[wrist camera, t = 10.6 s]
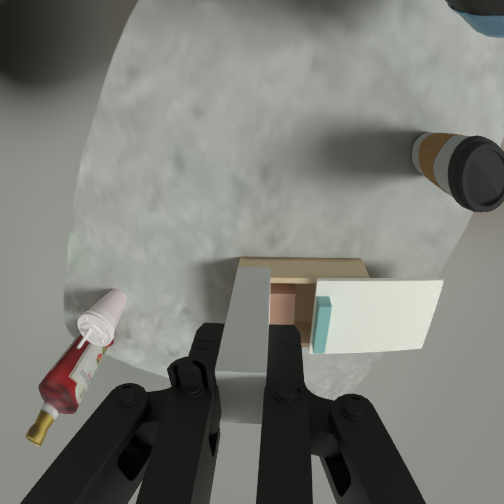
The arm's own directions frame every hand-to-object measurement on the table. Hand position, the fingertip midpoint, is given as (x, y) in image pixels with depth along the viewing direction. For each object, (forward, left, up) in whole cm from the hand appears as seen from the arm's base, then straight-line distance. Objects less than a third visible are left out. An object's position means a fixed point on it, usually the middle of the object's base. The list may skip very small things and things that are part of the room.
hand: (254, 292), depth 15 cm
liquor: (+29, -32, -30) cm, 52 cm away
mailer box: (+19, +5, -29) cm, 35 cm away
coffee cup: (-4, +23, -30) cm, 38 cm away
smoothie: (+21, -26, -30) cm, 45 cm away
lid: (+19, +16, -23) cm, 33 cm away
